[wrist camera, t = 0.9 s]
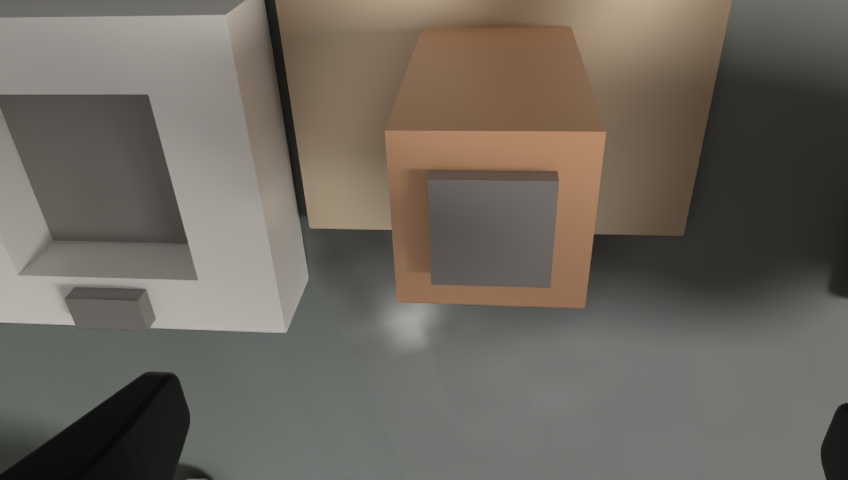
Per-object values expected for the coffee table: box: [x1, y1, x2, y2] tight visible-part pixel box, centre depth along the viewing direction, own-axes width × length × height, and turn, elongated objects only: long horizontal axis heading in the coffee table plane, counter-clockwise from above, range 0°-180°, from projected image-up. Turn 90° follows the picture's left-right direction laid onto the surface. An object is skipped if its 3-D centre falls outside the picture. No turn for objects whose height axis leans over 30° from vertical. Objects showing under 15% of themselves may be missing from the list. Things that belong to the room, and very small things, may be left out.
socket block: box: [0, 0, 309, 333], centre depth 20 cm, size 11×10×4 cm
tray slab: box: [275, 0, 732, 236], centre depth 19 cm, size 12×9×1 cm
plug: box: [385, 27, 606, 308], centre depth 16 cm, size 4×4×7 cm
